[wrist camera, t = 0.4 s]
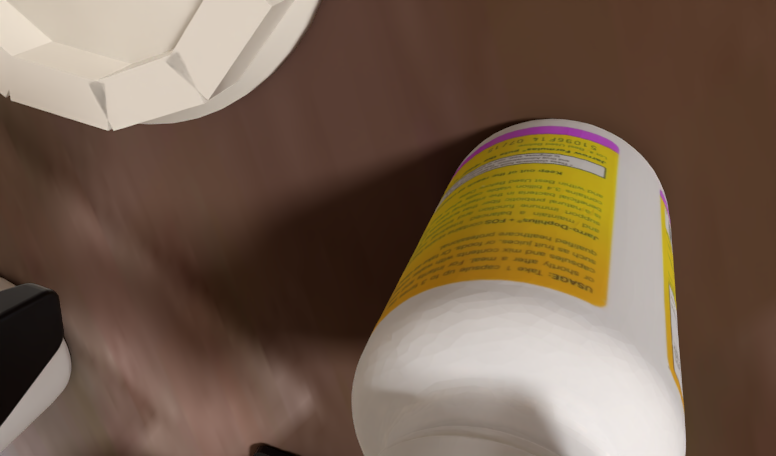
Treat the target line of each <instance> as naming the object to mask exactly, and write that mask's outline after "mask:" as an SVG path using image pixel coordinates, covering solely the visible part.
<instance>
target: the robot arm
mask: <svg viewBox="0 0 776 456" xmlns="http://www.w3.org/2000/svg"><path fill="white" fill-rule="evenodd" d="M63 336H64V329H63V322H62V315H61V308H60V301H59V296H58V295H57V293H56V292H55V291H54V290H52V289H49V288H46V287H43V286H40V285H37V284H34V283H26V284H22V285H19V286H15V287H12V288H8V289H5V290H2V291H0V427H1V425H2V424H3V423H4V422H5V420H6V419H7V418H8V416H9V415H10V414H11V412H12V411H13V410H14V408H15V407H16V406H17V404H18V403H19V402H20V400H21V399H22V398H23V396H24V395H25V394H26V392H27V391H28V390H29V388H30V387H31V386H32V384H33V383H34V382H35V380H36V379H37V377H38V376H39V375H40V373H41V372H42V371H43V369H44V368H45V367H46V365H47V364H48V363H49V361H50V360H51V359H52V357H53V356H54V355H55V353H56V352H57V351H58V349H59V347H60V345H61V343H62V340H63ZM253 456H290V455H287V454H285V453H282V452H280V451H277V450H275V449H272V448H269V447H266V446H260V447H258V448H257V450H256V452H255V453H254V455H253Z"/></svg>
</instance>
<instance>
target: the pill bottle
mask: <svg viewBox="0 0 776 456" xmlns="http://www.w3.org/2000/svg"><path fill="white" fill-rule="evenodd" d="M12 287H15V285H14V284H12V283H11V282H9V281H7V280H5V279H3V278H1V277H0V291H2V290H5V289H8V288H12ZM70 375H71V358H70V353H69V350H68V347H67V344H66V342H65V340H64V338H63V340H62V343H61V345H60V347H59V349H58V351H57V352H56V353H55V355H54V356H53V357H52V359H51V360H50V361H49V363H48V364H47V365H46V367H45V368H44V369H43V371H42V372H41V373H40V375H39V376H38V377H37V379H36V380H35V382H34V383H33V384H32V386H31V387H30V388H29V390H28V391H27V392H26V394H25V395H24V396H23V398H22V399H21V400H20V402H19V403H18V404H17V406H16V407H15V408H14V410H13V411H12V412H11V414H10V415H9V416H8V418H7V419H6V420H5V422H4V423H3V424H2V425H1V427H0V453H1V452H2V451H3V450H4V449H5V448H6V447H7V446H8V445H9V444H10V443H11V442H12V441H13V440H14V439H15V438H17V437H18V436H19V435H20V434H21V433H22V432H23V431H24V430H25V429H26V428H27V427H28V426H29V425H30V424H31V423H32V422H33V421H34V420H35V419H36V418H37V417H38V416H39V415H40V414H41V413H42V412H43V411H44V410H46V409H47V408H48V407H49V406H50V405H51V404H52V403H53V402H54V401H55V400H56V398H57V397H58V396H59V395H60V394H61V392H62V391H63V390H64V389H65V387H66V385H67V383H68V381H69V378H70Z"/></svg>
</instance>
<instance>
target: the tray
mask: <svg viewBox="0 0 776 456" xmlns="http://www.w3.org/2000/svg"><path fill="white" fill-rule="evenodd" d="M321 2H322V0H0V93H1V94H2V95H3V96H5V97H8V96H10V98H11V101H14V102H17V103H21V104H24V105H27V106H30V107H34V108H37V109H40V110H43V111H46V112H50V113H53V114H56V115H59V116H62V117H66V118H69V119H72V120H75V121H79V122H82V123H85V124H88V125H91V126H95V127H98V128H101V129H104V130H107V131H109V130H111V129H113V131H115V130H118V129H122V128H125V127H128V126H132V125H135V124H138V123H140V124H166V123H177V122H182V121H187V120H191V119H196V118H200V117H202V116H205V115H208V114H210V113H213V112H215V111H218V110H221V109H223V108H225V107H226V106H228V105H230V104H231V103H233V102H235V101H236V100H238V99H240V98H241V97H243V96H245V95H246V94H248V93H249V92H251V91H252V90H254V89H255V88H257V87H258V86H259V85H260V84H261V83H262V82H264V81H265V80H266V79H267V78H268V77H270V76H271V75H272V74H273V73H274V72H276V71H277V70H278V69H279V67H280V66H281V65H282V64H283V63H284V62H285V61H286V59H287V58H288V57H289V56H290V55H291V54H292V52H293V51H294V50H295V49H296V48H297V46H298V44H299V43H300V41H301V40H302V38H303V37H304V35H305V33H306V32H307V30H308V29H309V27H310V25H311V24H312V22H313V20H314V18H315V16H316V13H317V11H318V9H319V7H320V5H321Z"/></svg>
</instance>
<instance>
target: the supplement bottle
mask: <svg viewBox="0 0 776 456" xmlns="http://www.w3.org/2000/svg"><path fill="white" fill-rule="evenodd" d="M352 415H353V423H354V427H355V432H356V435H357V438H358V441H359V444H360V447H361V449H362V452H363V454H364V456H685V450H686V435H685V418H684V401H683V392H682V380H681V367H680V355H679V342H678V329H677V312H676V296H675V281H674V266H673V251H672V239H671V224H670V217H669V211H668V205H667V200H666V197H665V193H664V191H663V188H662V186H661V183H660V181H659V179H658V178H657V176H656V174H655V172H654V170H653V169H652V168H651V166H650V165H649V164H648V162H647V161H646V160H645V159H644V158H643V157H642V155H640V154H639V153H638V152H637V151H636V150H635V149H634V148H633V147H632V146H630V145H629V144H628V143H627V142H625V141H624V140H622V139H621V138H619V137H617V136H616V135H614V134H612V133H610V132H608V131H606V130H604V129H601V128H599V127H596V126H594V125H591V124H587V123H583V122H578V121H573V120H565V119H541V120H532V121H528V122H523V123H519V124H516V125H513V126H510V127H508V128H505V129H503V130H501V131H499V132H497V133H495V134H493V135H492V136H490V137H489V138H487V139H486V140H484V141H483V142H482V143H480V144H479V145H478V146H477V147H476V148H475V149H474V150H472V151H471V152H470V154H469V155H468V156H467V157H466V158H465V159H464V161H463V162H462V163H461V165H460V166H459V167H458V169H457V171H456V172H455V174H454V176H453V177H452V179H451V181H450V183H449V185H448V187H447V189H446V191H445V193H444V195H443V197H442V199H441V200H440V202H439V204H438V206H437V208H436V210H435V212H434V214H433V216H432V218H431V220H430V222H429V224H428V226H427V227H426V229H425V231H424V233H423V235H422V237H421V239H420V241H419V243H418V245H417V247H416V249H415V251H414V253H413V255H412V257H411V259H410V261H409V263H408V265H407V266H406V268H405V270H404V272H403V274H402V276H401V278H400V280H399V282H398V284H397V286H396V288H395V290H394V292H393V294H392V296H391V297H390V299H389V301H388V303H387V305H386V307H385V309H384V311H383V313H382V315H381V317H380V319H379V320H378V322H377V324H376V326H375V328H374V330H373V332H372V334H371V336H370V338H369V340H368V342H367V344H366V347H365V349H364V351H363V353H362V355H361V357H360V360H359V362H358V365H357V369H356V372H355V377H354V381H353V388H352Z"/></svg>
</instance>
